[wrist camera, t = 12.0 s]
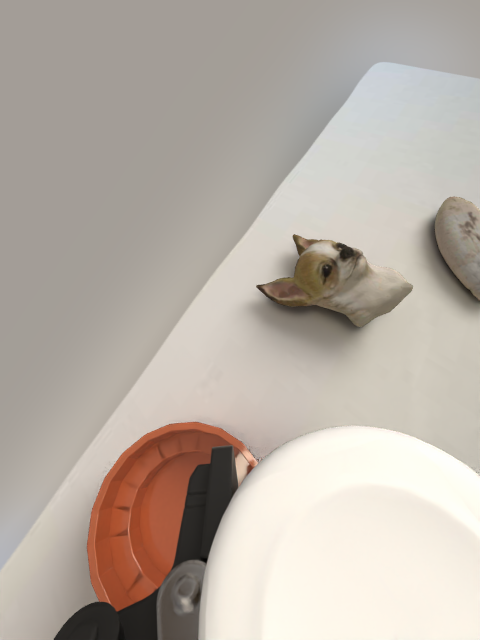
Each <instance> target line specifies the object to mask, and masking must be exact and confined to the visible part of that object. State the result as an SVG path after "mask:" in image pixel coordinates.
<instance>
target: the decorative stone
mask: <svg viewBox="0 0 480 640" xmlns="http://www.w3.org/2000/svg"><path fill="white" fill-rule="evenodd" d="M435 234H436V240H437V244H438V247H439V250H440V251H441V254H442V256H443V258H444V259H445V261H446V263H447V264H448V266H449V267H450V268H451V270H452V271H453V273H454V274H455V275H456V276H457V278H458V279H459V280H460V281H461V282H462V283H463V285H464V286H465V287H466V288H467V289H470V290H471V292H472V294H473V295H474V296H475V297H476V298H477V299H478V300H479V301H480V210H479V209H478V208H477V207H476V206H475V205H474V204H473V203H471V202H470V201H467V200H465V199H462V198H460V197H449V198H448V199H446V200H445V201H444V202H443V204H442V205H441V207H440V209H439V211H438V213H437V216H436V220H435Z"/></svg>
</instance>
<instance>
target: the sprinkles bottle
mask: <svg viewBox="0 0 480 640" xmlns="http://www.w3.org/2000/svg"><path fill="white" fill-rule="evenodd" d="M198 640H480V476H479V475H478V474H477V473H476V472H474V471H473V470H472V469H470V468H469V467H468V466H466V465H465V464H464V463H462V462H460V461H459V460H457V459H455V458H454V457H452V456H451V455H449V454H447V453H446V452H444V451H442V450H441V449H439V448H437V447H434V446H432V445H430V444H428V443H426V442H424V441H421V440H419V439H417V438H415V437H413V436H410V435H407V434H403V433H400V432H397V431H392V430H388V429H382V428H376V427H369V426H339V427H331V428H325V429H321V430H318V431H315V432H311V433H308V434H305V435H302V436H300V437H298V438H295V439H293V440H291V441H289V442H287V443H285V444H284V445H282V446H280V447H278V448H277V449H275V450H274V451H273V452H271V453H270V454H269V455H267V456H266V457H265V458H264V459H262V460H261V461H260V462H259V463H258V464H257V465H256V466H255V467H254V468H253V469H252V471H251V472H250V473H249V474H248V475H247V476H246V478H245V479H244V480H243V482H242V483H241V485H240V486H239V488H238V489H237V491H236V492H235V494H234V495H233V497H232V499H231V501H230V503H229V505H228V507H227V509H226V511H225V513H224V515H223V517H222V519H221V522H220V524H219V527H218V530H217V532H216V535H215V537H214V540H213V543H212V546H211V550H210V553H209V557H208V561H207V565H206V569H205V574H204V578H203V586H202V594H201V602H200V612H199V634H198Z"/></svg>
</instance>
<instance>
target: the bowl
mask: <svg viewBox="0 0 480 640" xmlns="http://www.w3.org/2000/svg"><path fill="white" fill-rule="evenodd" d="M229 445H233V448H234V456H235V463H236V470H237V477H238V488H239V486H240V485H241V483H242V482H243V480H244V479H245V478H246V476H247V475H248V474H249V473H250V472H251V471H252V469H253V468H254V467H255V466H256V465H257V464H258V461H257V460H256V459H255V457H254V456H253V455H252V454H251V452H250V451H249V450H248V448H247V447H246V446H245V445H244V444H243V443H242V442H240V441H239V440H237V439H236V438H234V437H233V436H232V435H230V434H229V433H227V432H226V431H224V430H223V429H221V428H218V427H214V426H210V425H206V424H203V423H199V422H187V423H174V424H169V425H166V426H164V427H162V428H159V429H157V430H154V431H152V432H150V433H147V434H146V435H144V436H143V437H142V438H140V439H139V440H138V441H137V442H136V443H134V444H133V445H132V446H131V447H129V448H128V449H127V450H126V451H125V452H124V453H122V455H121V456H120V457H119V459H118V460H117V462H116V463H115V464H114V466H113V467H112V469H111V470H110V471H109V473H108V474H107V475H106V477H105V479H104V481H103V483H102V486H101V488H100V491H99V493H98V496H97V498H96V501H95V503H94V506H93V508H92V512H91V519H90V527H89V534H88V541H87V553H88V561H89V569H90V578H91V584H92V586H93V588H94V590H95V593H96V595H97V597H98V600H99V602H107V603H109V604H111V605H112V606H113V607H114V608H115V609H116V611H119V610H121V609H123V608H125V607H127V606H130V605H132V604H134V603H136V602H138V601H140V600H142V599H144V598H146V597H147V596H149V595H150V594H152V593H153V592H154V591H156V590H157V589H158V588H159V587H160V586H161V584H162V582H163V580H164V579H165V577H166V576H167V575H168V573H169V572H170V571H171V569H172V566H173V563H174V559H175V554H176V549H177V543H178V538H179V532H180V527H181V521H182V516H183V510H184V508H185V500H186V496H187V489H188V483H189V478H190V476H191V475H192V473H193V471H194V470H195V468H196V467H197V465H200V464H210V460H211V451H212V447H218V446H229Z"/></svg>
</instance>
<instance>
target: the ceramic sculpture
mask: <svg viewBox="0 0 480 640" xmlns="http://www.w3.org/2000/svg"><path fill="white" fill-rule="evenodd" d="M293 239H294V241H295V244H296V247H297V251H298V254H299V256H300V258H299V259H298V262H297V265H296V267H295V274H294V277H293V278H290V277H288V278H280V279H277V280H275V281H273V282H270V283H268V284H263V285H257V286H256V287H257V288H258V289H259V290H260V291H261V292H262V293H264V294H265V295H266V296H267V297H268V298H270V299H271V300H273V301H275V302H277V303H278V304H282V305H286V306H290V307H291V306H310V305H314V304H315V305H318V306H320V307H324V308H328V309H331V310H334V311H337V312H340V313H343V314H345V315H346V316H347V317H348V318H349V319H350V320H351V321H352V323H354V324H355V325H356V326H358V327H363V326H364V325H366V324H367V323H368V322H370V321H371V320H373V319H374V318H376V317H378V316H380V315H383V314H386V313H388V312H390V311H391V310H392V309H394V308H395V307H396V306H397V305H398V304H399V303H400V302H401V301H402V300H403V299H404V298H405V297H406V296H407V295H408V294H409V293H410V292H411V291H412V289H413V285H411V284H409V283H408V282H407V281H406V280H405V278H404V277H403V276H402V275H401V274H400V273H399V272H397V271H395V270H394V269H391V268H387V267H379V266H374V265H372V264H370V263H368V262H367V260H366V258H365V257H364V256H363V253H362V251H360V250H359V249H356V248H350V247H347V246H346V245H344V244H342V243H336V242H334V241H331V240H319V241H318V240H313V239H311V240H308V239H304V238H302V237H300V236H298V235H295V234H294V235H293Z"/></svg>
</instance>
